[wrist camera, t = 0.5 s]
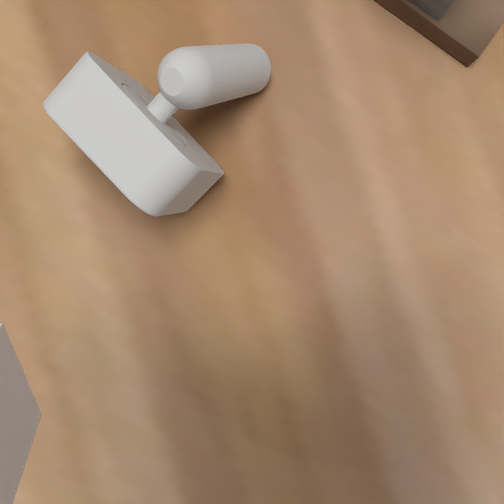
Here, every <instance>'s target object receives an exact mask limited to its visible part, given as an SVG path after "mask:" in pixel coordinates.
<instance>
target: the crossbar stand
mask: <svg viewBox="0 0 504 504" xmlns="http://www.w3.org/2000/svg"><path fill="white" fill-rule="evenodd" d="M374 1H376V2H377V3H379V4H380V5H381V6H383V7H384V8H386V9H387V10H388V11H390V12H391V13H393V14H394V15H395V16H397V17H398V18H400V19H401V20H402V21H404V22H405V23H406V24H408V25H409V26H411V27H412V28H413V29H415V30H416V31H418V32H419V33H420V34H422V35H423V36H425V37H426V38H427V39H429V40H430V41H432V42H433V43H434V44H436V45H437V46H439V47H440V48H441V49H443V50H444V51H446V52H447V53H448V54H450V55H451V56H453V57H454V58H455V59H457V60H458V61H460V62H461V63H462V64H464V65H465V66H466V67H468V66H469V65H470V64H471V63H473V62H474V61H475V60H476V59H477V58H478V57H479V56H480V55H481V53H482V52H483V51H484V49H485V48H486V46H487V45H488V43H489V42H490V40H491V39H492V38H493V36H494V35H495V33H496V32H497V30H498V29H499V27H500V26H501V25H502V23H503V22H504V0H374Z"/></svg>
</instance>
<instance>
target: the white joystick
mask: <svg viewBox="0 0 504 504" xmlns="http://www.w3.org/2000/svg"><path fill="white" fill-rule="evenodd" d="M270 74H271V65H270V61H269V58H268V56H267V54H266V53H265V51H264V50H263V49H262V48H261V47H259V46H257V45H255V44H251V43H246V44H226V45H207V46H190V47H181V48H177V49H175V50H173V51H171V52H170V53H168V54H167V55H166V56H165V57H164V59H163V60H162V62H161V63H160V66H159V69H158V74H157V81H158V86H159V89H160V92H159V93H158V95H157V96H156V97H154V96H153V95H152V94H151V93H150V92H149V91H148V90H147V89H146V88H144V87H143V86H142V85H141V84H140V83H139V82H138V81H136V80H135V79H134V78H132V77H130V76H129V75H127V74H126V73H124V72H122V71H121V70H119V69H117V68H116V67H114V66H113V65H111V64H109V63H108V62H106V61H105V60H103V59H101V58H100V57H98V56H96V55H95V54H93V53H92V52H90V51H87V52H86V53H85V54H84V55H83V56H82V57H81V59H80V60H79V61H78V62H77V63H76V64H75V66H74V67H73V68H72V69H71V70H70V72H69V73H68V74H67V75H66V76H65V77H64V79H63V80H62V81H61V82H60V83H59V84H58V86H57V87H56V88H55V89H54V90H53V91H52V93H51V94H50V95H49V96H48V97H47V99H46V100H45V101H44V103H43V106H44V108H45V110H46V112H47V113H48V114H49V116H50V117H51V118H52V119H53V120H54V121H55V122H56V123H57V124H58V125H59V126H60V128H61V129H62V130H63V131H64V132H65V133H66V134H67V135H68V136H69V137H70V138H71V139H72V140H73V141H74V142H75V143H76V144H77V146H78V147H79V148H80V149H81V150H82V151H83V152H84V153H85V154H86V155H87V156H88V157H89V158H90V159H91V160H92V161H93V162H94V163H95V165H96V166H97V167H98V168H99V169H100V170H101V171H102V172H103V173H104V174H105V175H106V176H107V177H108V178H109V179H110V180H111V181H112V182H113V183H114V184H115V186H116V187H117V188H118V189H119V190H120V191H121V192H122V193H123V194H124V195H125V196H126V197H127V198H128V199H129V200H130V201H131V202H132V203H133V204H134V205H136V206H137V207H138V208H140V209H141V210H142V211H144V212H145V213H147V214H149V215H151V216H155V217H157V216H164V215H171V214H177V213H183V212H187V211H188V210H189V209H190V208H191V207H192V206H193V205H194V204H195V203H196V202H197V201H198V200H199V199H200V198H201V197H202V196H203V195H204V194H205V193H206V192H207V191H208V190H209V189H210V188H211V187H212V186H213V185H214V184H215V183H216V182H217V181H218V180H219V179H220V178H221V177H222V176H223V175H224V172H223V170H222V169H221V167H220V166H219V165H218V164H217V163H216V161H215V160H214V159H213V158H212V157H211V156H210V155H209V154H208V153H207V152H206V151H205V150H204V149H203V148H202V147H201V146H200V145H199V143H198V142H197V141H196V140H195V139H194V138H193V137H192V136H191V135H190V134H189V133H188V132H187V131H186V130H185V129H184V128H183V127H182V126H181V124H180V123H179V122H178V121H177V120H176V119H175V118H174V117H173V116H172V115H173V114H174V113H175V112H176V111H177V110H178V109H179V108H181V109H185V110H193V109H199V108H203V107H206V106H210V105H214V104H218V103H221V102H225V101H229V100H232V99H236V98H240V97H244V96H247V95H251V94H255V93H258V92H259V91H261V90H262V89H263V88H264V87H265V86H266V85H267V83H268V81H269V78H270Z"/></svg>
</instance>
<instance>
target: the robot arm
mask: <svg viewBox="0 0 504 504" xmlns="http://www.w3.org/2000/svg"><path fill="white" fill-rule="evenodd" d="M41 415H42V414H41V411H40V409H39V407H38V404H37V402H36V400H35V397H34V395H33V393H32V390H31V388H30V386H29V383H28V381H27V379H26V376H25V374H24V372H23V369H22V367H21V365H20V362H19V360H18V358H17V355H16V353H15V351H14V348H13V346H12V344H11V341H10V339H9V337H8V334H7V332H6V330H5V327H4V325H3V323H0V504H13V501H14V498H15V494H16V491H17V488H18V485H19V482H20V479H21V476H22V473H23V470H24V467H25V464H26V461H27V458H28V455H29V452H30V449H31V446H32V442H33V439H34V436H35V433H36V430H37V427H38V424H39V421H40V418H41Z"/></svg>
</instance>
